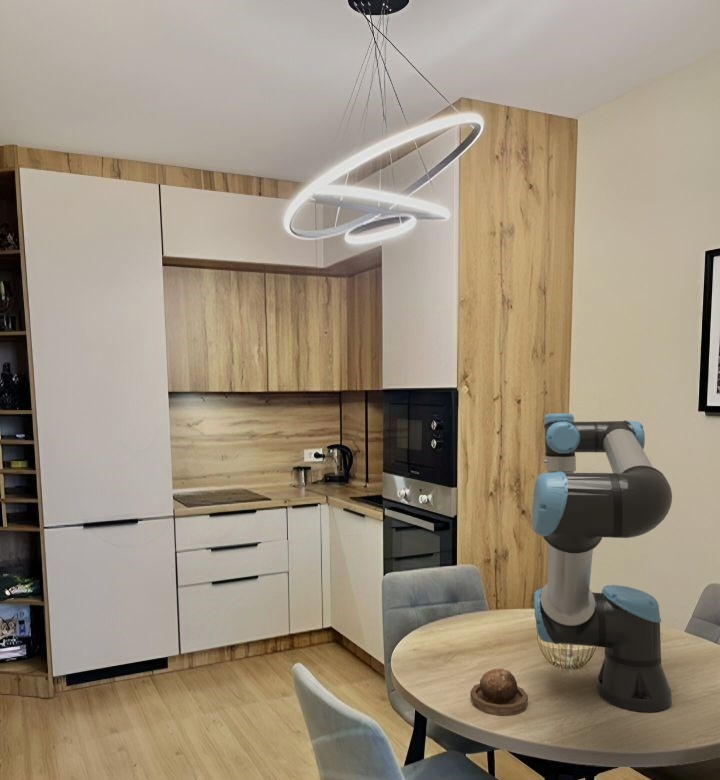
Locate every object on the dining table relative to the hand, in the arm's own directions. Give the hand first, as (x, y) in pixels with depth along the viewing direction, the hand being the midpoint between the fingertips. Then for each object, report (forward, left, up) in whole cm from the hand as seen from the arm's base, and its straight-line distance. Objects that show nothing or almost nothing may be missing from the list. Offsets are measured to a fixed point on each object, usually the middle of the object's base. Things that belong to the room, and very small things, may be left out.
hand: (562, 554), depth 157 cm
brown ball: (-7, +32, -26) cm, 42 cm away
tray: (-6, +32, -27) cm, 42 cm away
